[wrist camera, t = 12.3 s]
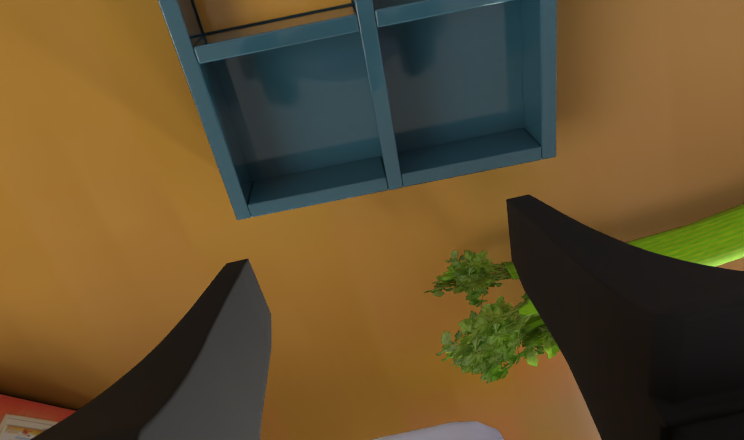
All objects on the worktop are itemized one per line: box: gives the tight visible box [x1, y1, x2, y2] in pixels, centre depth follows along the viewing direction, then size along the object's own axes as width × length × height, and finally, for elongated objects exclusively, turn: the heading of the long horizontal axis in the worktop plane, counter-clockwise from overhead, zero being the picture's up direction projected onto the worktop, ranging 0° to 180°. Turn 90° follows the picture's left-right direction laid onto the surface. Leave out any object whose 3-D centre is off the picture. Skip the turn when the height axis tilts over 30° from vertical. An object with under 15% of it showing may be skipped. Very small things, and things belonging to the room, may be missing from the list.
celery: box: [424, 204, 744, 383], centre depth 25 cm, size 6×7×30 cm
